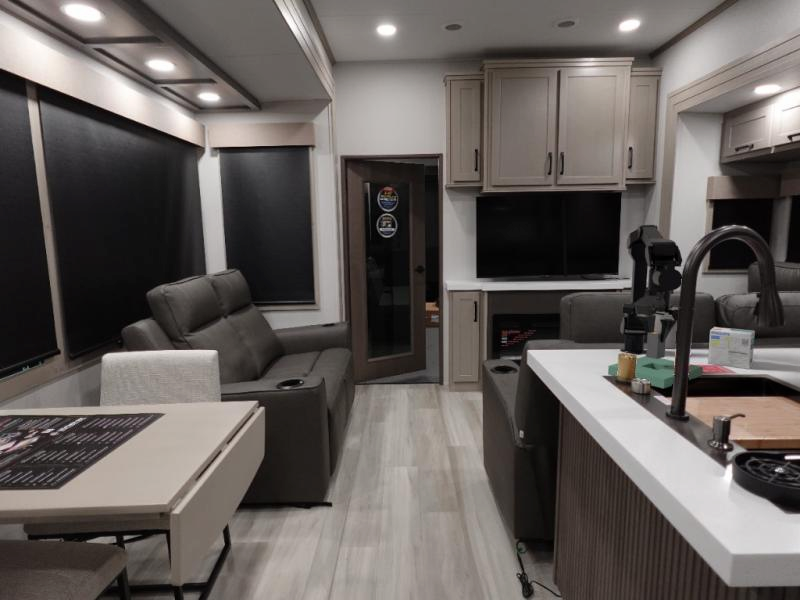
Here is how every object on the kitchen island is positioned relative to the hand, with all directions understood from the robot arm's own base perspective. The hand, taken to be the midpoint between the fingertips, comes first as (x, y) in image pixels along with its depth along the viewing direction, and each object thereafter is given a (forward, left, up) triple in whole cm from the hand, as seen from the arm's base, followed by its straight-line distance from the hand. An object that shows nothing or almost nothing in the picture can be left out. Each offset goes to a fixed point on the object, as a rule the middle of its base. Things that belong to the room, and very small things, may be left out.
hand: (656, 341), depth 134 cm
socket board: (0, 0, -10) cm, 10 cm away
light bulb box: (-29, +7, -10) cm, 31 cm away
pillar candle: (-38, -17, -10) cm, 43 cm away
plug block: (0, 0, -4) cm, 5 cm away
